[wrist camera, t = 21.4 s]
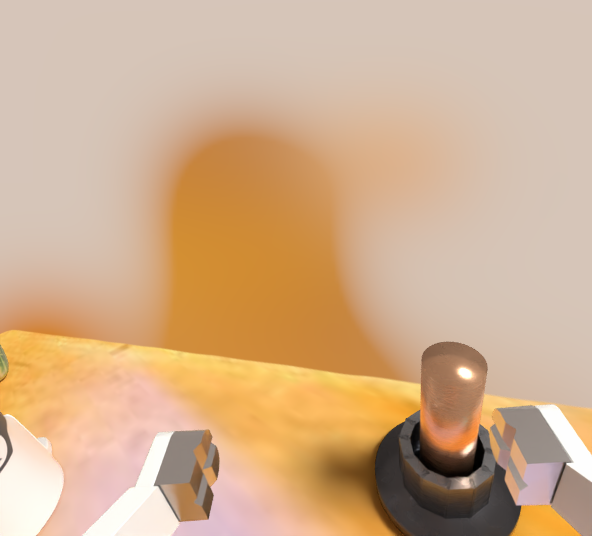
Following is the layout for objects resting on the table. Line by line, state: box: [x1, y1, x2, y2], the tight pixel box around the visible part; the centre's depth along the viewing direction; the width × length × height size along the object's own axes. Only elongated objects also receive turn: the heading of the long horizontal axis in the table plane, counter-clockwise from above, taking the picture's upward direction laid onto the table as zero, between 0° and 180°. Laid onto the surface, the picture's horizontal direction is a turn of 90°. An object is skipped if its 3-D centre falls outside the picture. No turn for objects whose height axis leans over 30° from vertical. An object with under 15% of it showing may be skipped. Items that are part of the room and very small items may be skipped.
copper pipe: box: [419, 342, 487, 478], centre depth 35 cm, size 5×5×16 cm
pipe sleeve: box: [375, 410, 521, 536], centre depth 38 cm, size 14×14×6 cm
